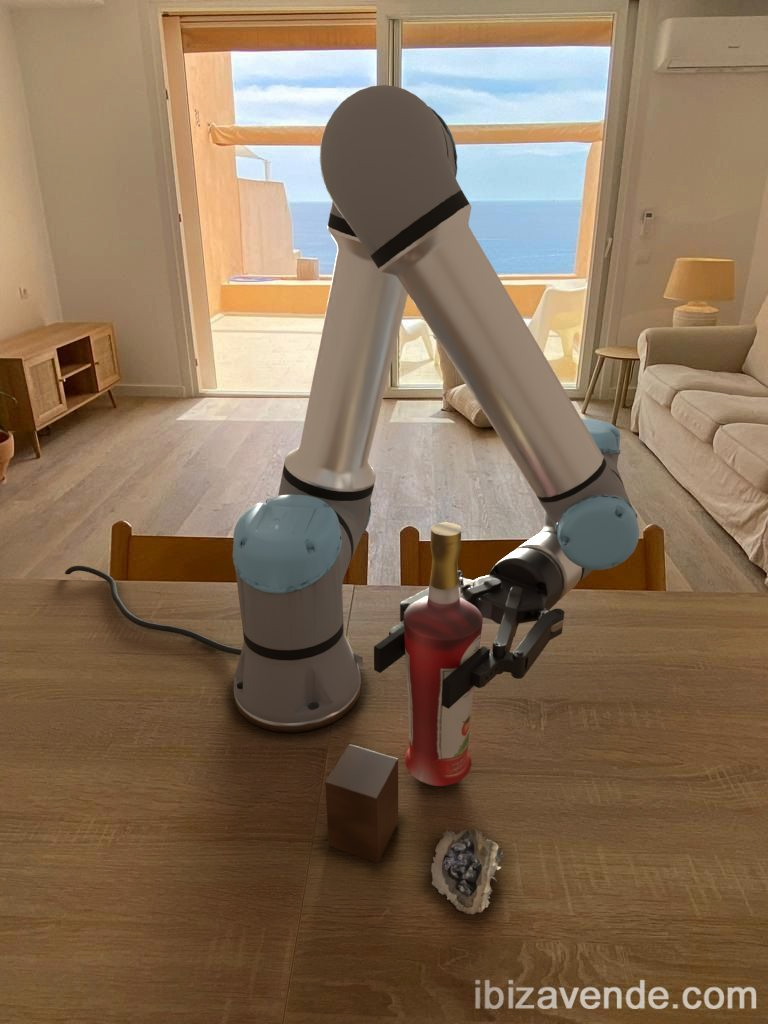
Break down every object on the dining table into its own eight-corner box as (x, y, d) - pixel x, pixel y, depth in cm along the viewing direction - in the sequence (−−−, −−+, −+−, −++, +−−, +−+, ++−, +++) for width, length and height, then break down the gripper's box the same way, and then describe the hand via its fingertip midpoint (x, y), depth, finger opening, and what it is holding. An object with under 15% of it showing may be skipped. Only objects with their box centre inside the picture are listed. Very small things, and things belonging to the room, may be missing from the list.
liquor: (426, 734, 77) (432, 504, 65) (485, 762, 73) (503, 524, 61) (388, 775, 72) (387, 533, 60) (450, 808, 68) (462, 556, 56)
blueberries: (498, 834, 65) (499, 819, 65) (515, 914, 58) (516, 899, 57) (427, 835, 65) (427, 821, 64) (434, 916, 58) (435, 901, 57)
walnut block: (328, 845, 64) (324, 781, 61) (351, 805, 69) (348, 743, 65) (378, 864, 63) (376, 798, 59) (398, 821, 67) (398, 758, 63)
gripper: (614, 637, 74) (503, 760, 58) (459, 577, 86) (331, 666, 70) (624, 576, 71) (509, 689, 55) (461, 523, 83) (328, 603, 67)
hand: (410, 676), depth 63 cm, fingers closed on liquor, 7 cm apart
